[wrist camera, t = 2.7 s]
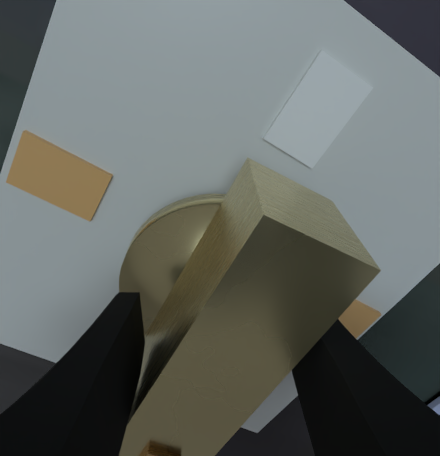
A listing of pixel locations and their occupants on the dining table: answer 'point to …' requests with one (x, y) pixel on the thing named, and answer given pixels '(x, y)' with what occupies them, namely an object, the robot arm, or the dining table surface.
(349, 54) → the lock plate
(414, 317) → the dining table surface
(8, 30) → the dining table surface
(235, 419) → the door handle
